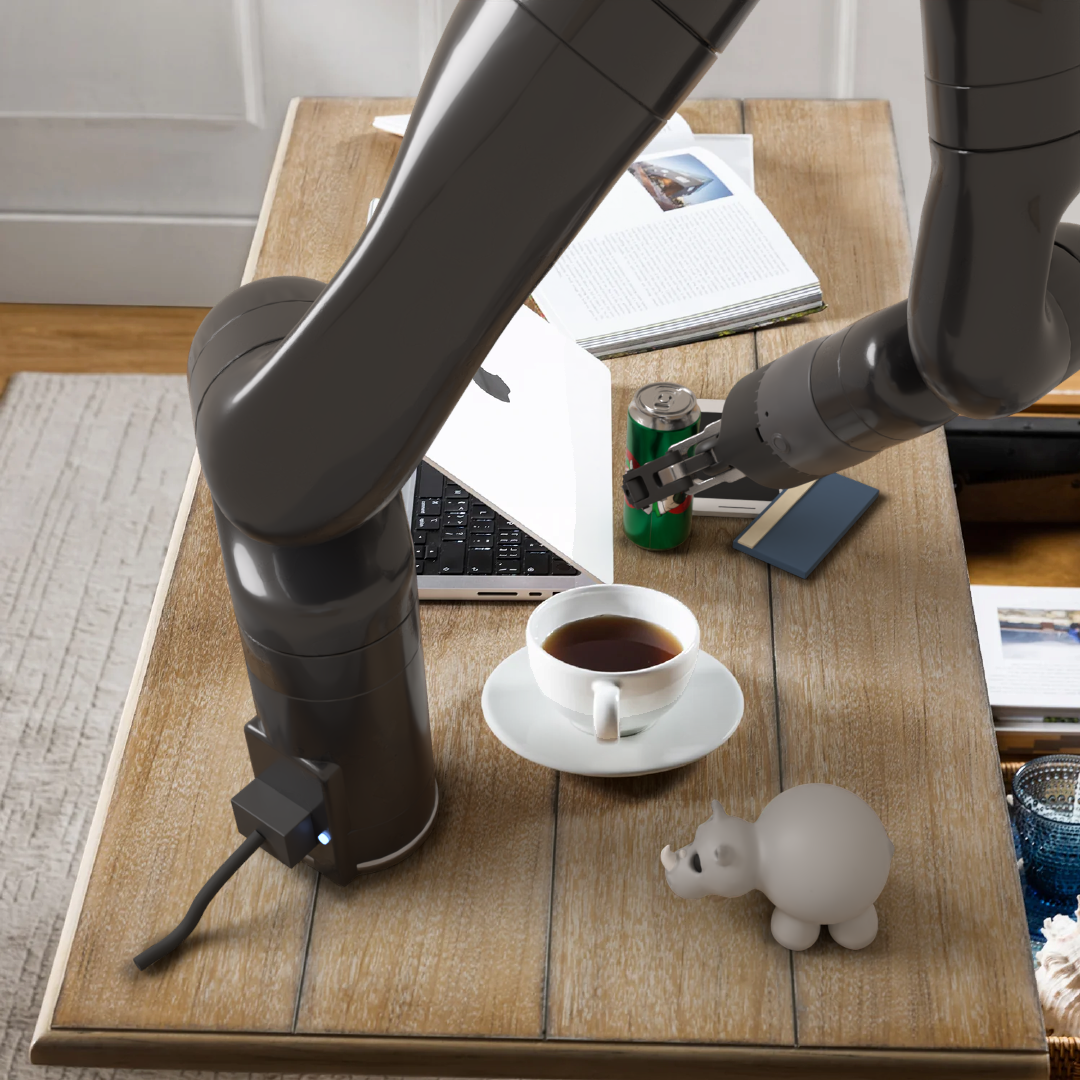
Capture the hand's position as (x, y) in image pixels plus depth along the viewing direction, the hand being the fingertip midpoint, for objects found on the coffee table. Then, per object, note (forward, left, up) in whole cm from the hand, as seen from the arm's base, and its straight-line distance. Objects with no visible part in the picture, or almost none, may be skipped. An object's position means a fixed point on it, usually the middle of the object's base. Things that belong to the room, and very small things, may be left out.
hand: (680, 472), depth 89 cm
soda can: (+1, +2, -7) cm, 8 cm away
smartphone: (+13, +2, -8) cm, 15 cm away
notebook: (+9, -6, -7) cm, 13 cm away
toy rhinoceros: (-23, -20, -7) cm, 31 cm away
